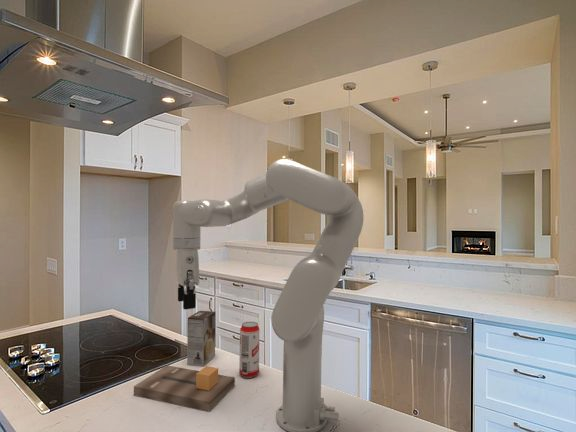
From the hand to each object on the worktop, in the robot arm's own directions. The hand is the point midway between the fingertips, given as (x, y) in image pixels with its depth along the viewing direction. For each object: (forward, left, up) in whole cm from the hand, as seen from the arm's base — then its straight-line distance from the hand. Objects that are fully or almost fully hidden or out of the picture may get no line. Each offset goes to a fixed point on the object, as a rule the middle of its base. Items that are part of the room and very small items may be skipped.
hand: (186, 304), depth 93 cm
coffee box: (+7, -20, -25) cm, 33 cm away
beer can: (-13, -16, -25) cm, 32 cm away
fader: (-7, -1, -22) cm, 23 cm away
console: (0, -1, -25) cm, 25 cm away
